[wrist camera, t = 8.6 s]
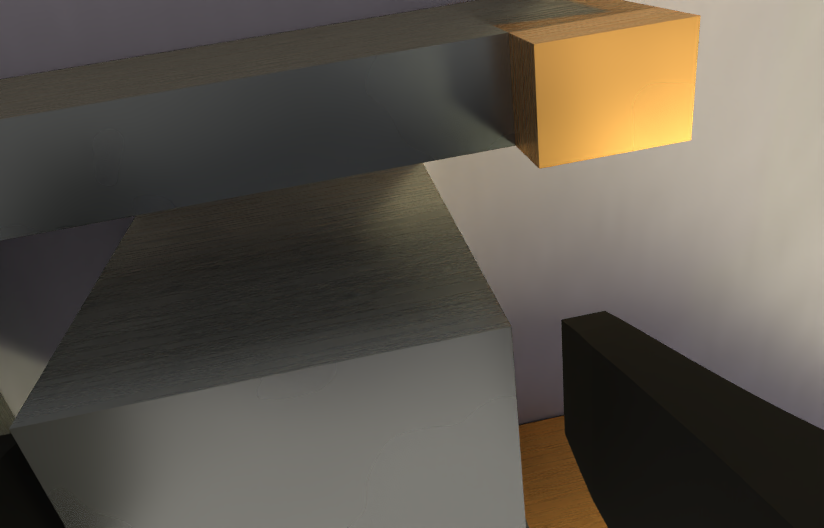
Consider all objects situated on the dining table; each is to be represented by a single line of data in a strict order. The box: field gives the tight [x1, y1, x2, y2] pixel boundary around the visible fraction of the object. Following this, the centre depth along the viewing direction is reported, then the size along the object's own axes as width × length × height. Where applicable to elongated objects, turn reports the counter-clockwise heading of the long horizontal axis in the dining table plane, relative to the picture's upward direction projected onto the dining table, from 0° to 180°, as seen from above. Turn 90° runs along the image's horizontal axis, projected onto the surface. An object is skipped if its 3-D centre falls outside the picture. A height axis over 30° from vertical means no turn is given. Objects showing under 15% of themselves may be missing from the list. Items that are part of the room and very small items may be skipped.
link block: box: [9, 163, 526, 528], centre depth 9 cm, size 4×4×5 cm
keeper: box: [0, 0, 700, 528], centre depth 9 cm, size 14×9×4 cm, turn 98°
